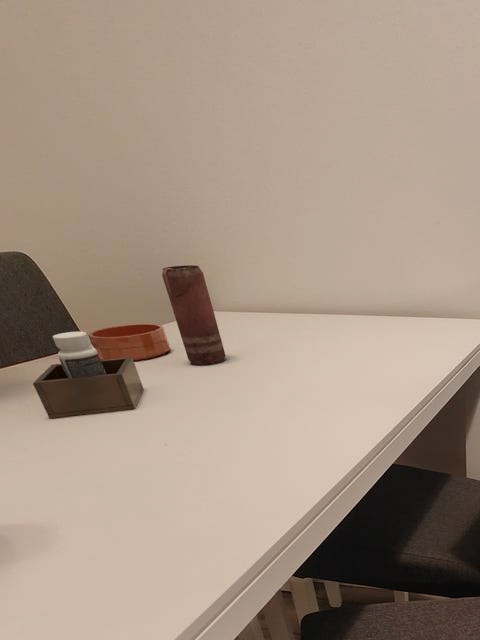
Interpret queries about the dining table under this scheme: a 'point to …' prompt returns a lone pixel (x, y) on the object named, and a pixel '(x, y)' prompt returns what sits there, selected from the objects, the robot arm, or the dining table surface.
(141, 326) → the bowl
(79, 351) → the pill bottle
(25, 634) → the dining table surface
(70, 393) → the holder
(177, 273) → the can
